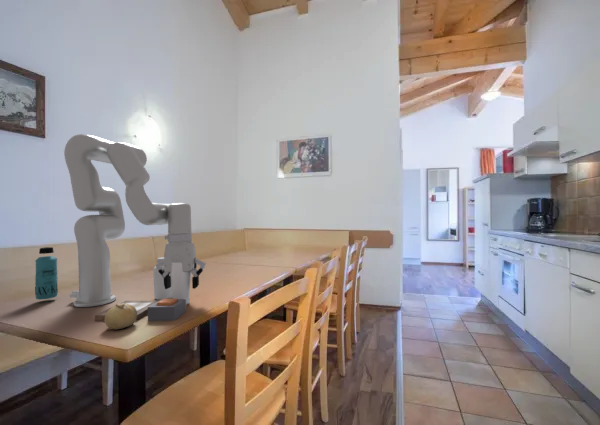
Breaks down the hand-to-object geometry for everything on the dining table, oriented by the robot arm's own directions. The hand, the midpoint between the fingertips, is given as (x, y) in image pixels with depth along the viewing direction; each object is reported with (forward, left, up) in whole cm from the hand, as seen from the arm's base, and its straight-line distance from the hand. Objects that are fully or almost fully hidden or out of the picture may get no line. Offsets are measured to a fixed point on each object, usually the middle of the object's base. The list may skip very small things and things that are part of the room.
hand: (181, 287), depth 105 cm
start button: (+1, -12, -4) cm, 13 cm away
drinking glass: (0, 0, -6) cm, 6 cm away
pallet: (-13, -8, -6) cm, 16 cm away
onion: (-8, -21, -6) cm, 23 cm away
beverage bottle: (-53, +5, -6) cm, 54 cm away
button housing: (+1, -12, -6) cm, 13 cm away
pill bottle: (-10, +9, -6) cm, 15 cm away
